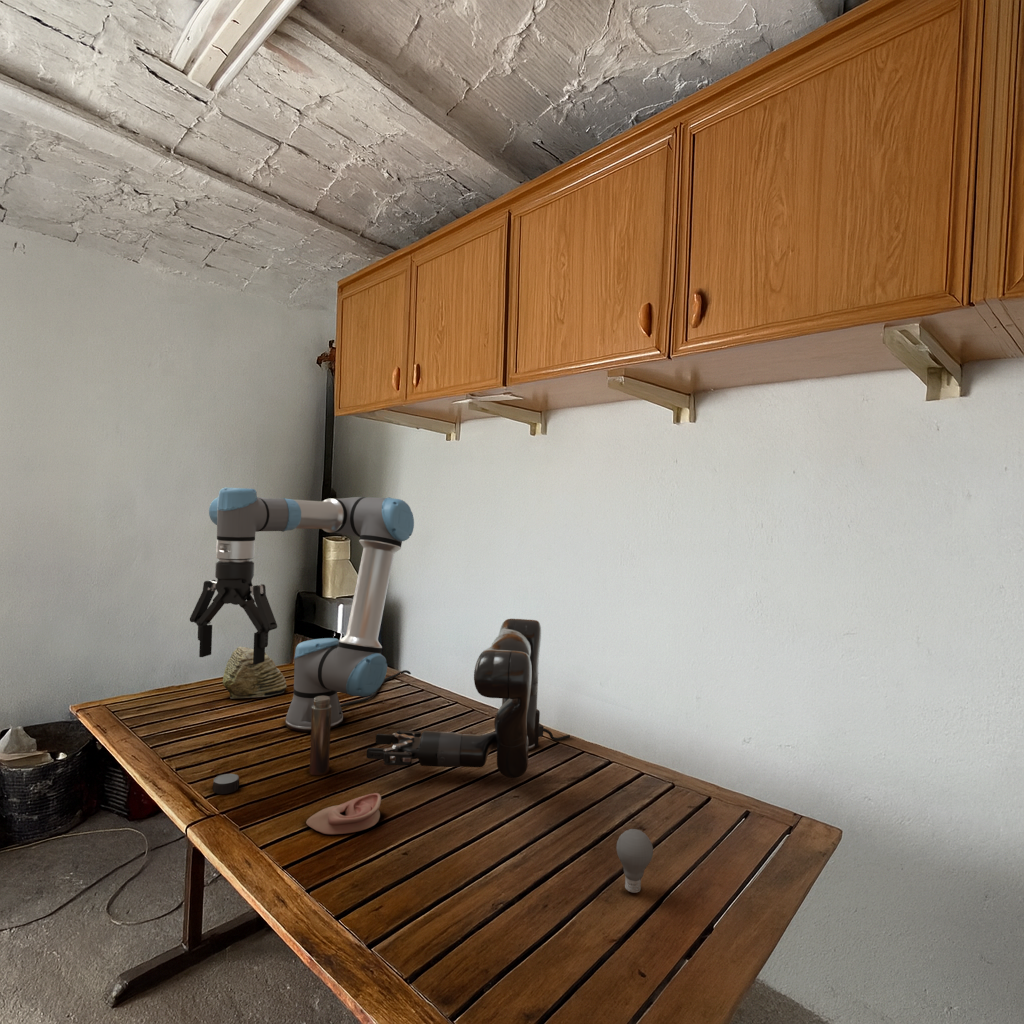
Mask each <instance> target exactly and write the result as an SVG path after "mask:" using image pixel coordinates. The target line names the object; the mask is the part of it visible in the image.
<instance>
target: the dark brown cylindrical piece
mask: <svg viewBox="0 0 1024 1024" xmlns="http://www.w3.org/2000/svg"><path fill="white" fill-rule="evenodd" d="M331 730H332V729H331V705H330V697H329V696H317V697H315V698H314V705H313V706H312V721H311V732H310V749H309V750H310V751H309V774H310V775H312V776H323V775H326V774H328V773H329V771H330V754H331V753H330V752H331V748H330V747H331Z"/></svg>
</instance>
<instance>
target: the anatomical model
mask: <svg viewBox="0 0 1024 1024" xmlns="http://www.w3.org/2000/svg"><path fill="white" fill-rule="evenodd" d="M381 803H382V796H381V794H380V793H379V792H373V793H368V794H364V795H362V796H358V797H356V798H353V799H351V800H348V801H346V802H343V803H340V804H338V805H332V806H328V807H325V808H323V809H321V810H319V811H317V812H315V813H313V814H312V815H311V816H310V817H308V818H307V819H306V821H305V824H306V825H307V826H308V827H309V828H311V829H312V830H314V831H316V832H319V833H321V834H323V835H343V834H351V833H356V832H362V831H365V830H367V829H369V828H370V829H371V828H372V827H374V826H375V825H376V824H377V823H379V821H380V818H381V812H380V810H379V809H380V807H381Z"/></svg>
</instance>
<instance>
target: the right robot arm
mask: <svg viewBox="0 0 1024 1024" xmlns="http://www.w3.org/2000/svg"><path fill="white" fill-rule="evenodd" d="M541 641H542V625H541V623H540V621H539V620H536V619H527V618H526V619H525V618H507V619H505V620H503V622H502V623H501V626H500V628H499V632H498V635H497V636H496V637H495V638H494V640H493V642H492V643H491V645H490V646H489V647H487V648H486V649H484V650H483V651H481V652H480V654H479V655H478V658H477V660H476V663H475V666H474V671H473V682H474V687H475V689H476V691H477V693H478V694H479V695H480V696H481V697H484V698H487V699H488V698H489V699H501V706H500V707H499V708H498V709H497V711H496V713H495V716H494V720H493V721H494V725H493V726H494V731H493V732H487V733H481V734H467V733H463V734H462V733H458V732H452V731H451V732H450V731H432V730H431V731H430V730H423V732H421V731H413V730H397V731H396V732H393V733H392V734H391V733H377V734H375V744H376V745H389V746H391V745H392V746H391V747H385V748H382V747H368V748H367V749H366V759H369V760H382V762H383V765H385V766H412V762H413V760H414V759H416V760H417V759H418V764H419V765H420V766H421V767H437V768H457V767H458V768H459V767H461V768H483V767H485V765H486V763H487V761H488V756H489V754H490V753H491V752H493V751H496V767H497V770H498V772H500V774H501V775H502V776H503V777H505V778H507V779H518V778H520V777H523V775H524V774H525V773H526V772H527V770H528V767H529V751H531V750H534V749H535V748H539V740H540V739H539V738H542V737H544V733H546V734H548V736H549V738H550V739H551V740H552V741H555V742H559V741H564V740H567V739H570V738H571V735H570V734H567V735H564V736H560V737H556V736H554V735H553V733H552V731H550V730H549V729H547V728H545V727H544V726H543V724H541V723H540V715H541V712H540V710H539V709H538V695H539V693H538V692H539V690H538V689H539V667H540V665H539V664H540V652H541V643H542V642H541Z"/></svg>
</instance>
